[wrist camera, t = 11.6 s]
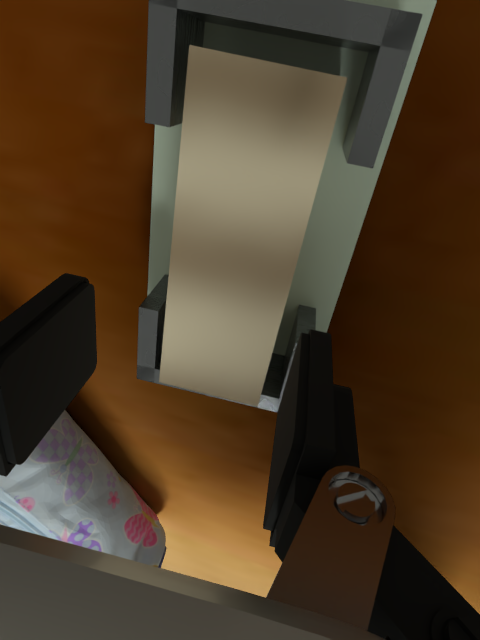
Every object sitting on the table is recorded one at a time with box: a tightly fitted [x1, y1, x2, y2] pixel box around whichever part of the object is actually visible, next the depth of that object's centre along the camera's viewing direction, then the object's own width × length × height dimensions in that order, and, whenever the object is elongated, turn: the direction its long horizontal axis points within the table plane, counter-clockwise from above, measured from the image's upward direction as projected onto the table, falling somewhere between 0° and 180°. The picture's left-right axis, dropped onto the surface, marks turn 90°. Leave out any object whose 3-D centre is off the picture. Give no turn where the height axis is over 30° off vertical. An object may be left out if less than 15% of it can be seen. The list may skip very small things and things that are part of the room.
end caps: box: [137, 0, 423, 413], centre depth 20 cm, size 18×9×4 cm, turn 171°
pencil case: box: [0, 410, 166, 568], centre depth 32 cm, size 21×9×10 cm, turn 25°
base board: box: [147, 0, 437, 356], centre depth 22 cm, size 20×11×2 cm, turn 171°
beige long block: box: [159, 45, 347, 407], centre depth 19 cm, size 14×5×6 cm, turn 170°
